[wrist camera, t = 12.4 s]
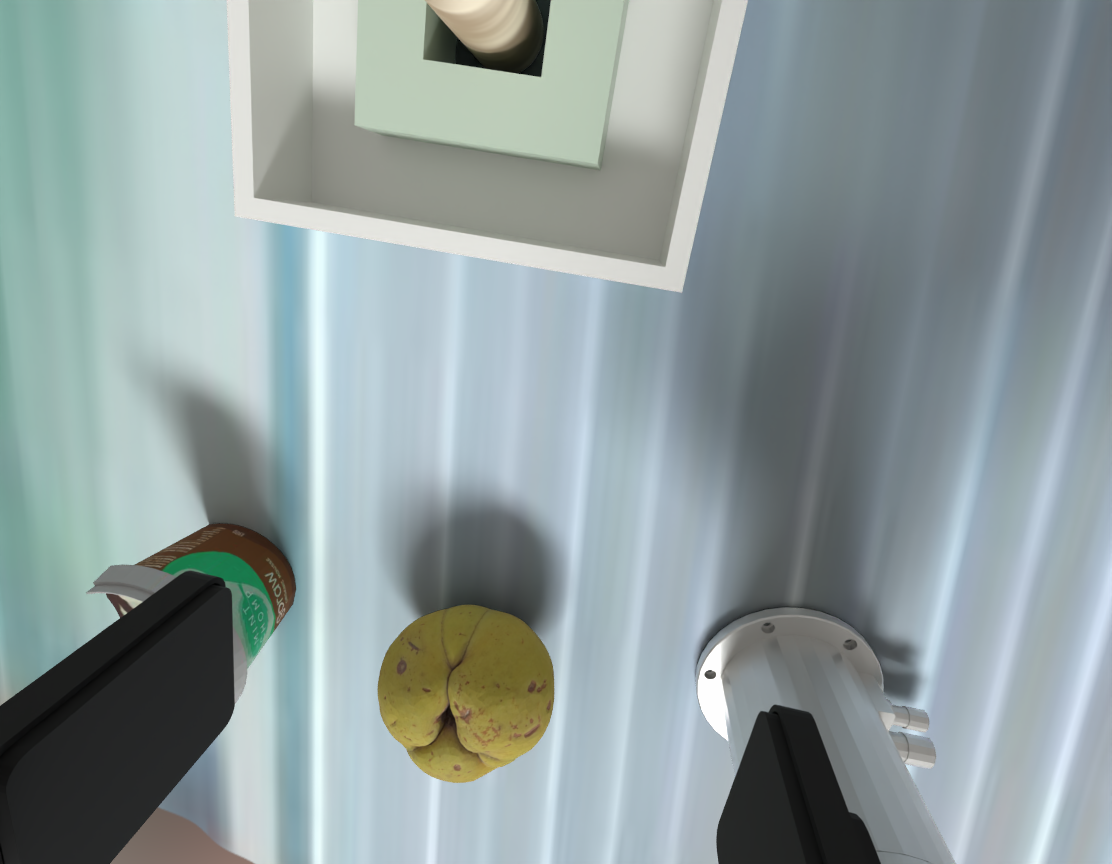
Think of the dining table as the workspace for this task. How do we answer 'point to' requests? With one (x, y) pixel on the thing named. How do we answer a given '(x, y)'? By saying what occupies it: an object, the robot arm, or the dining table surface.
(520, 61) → the peg
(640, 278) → the box
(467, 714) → the fruit
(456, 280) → the dining table surface
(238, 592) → the food container
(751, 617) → the robot arm
